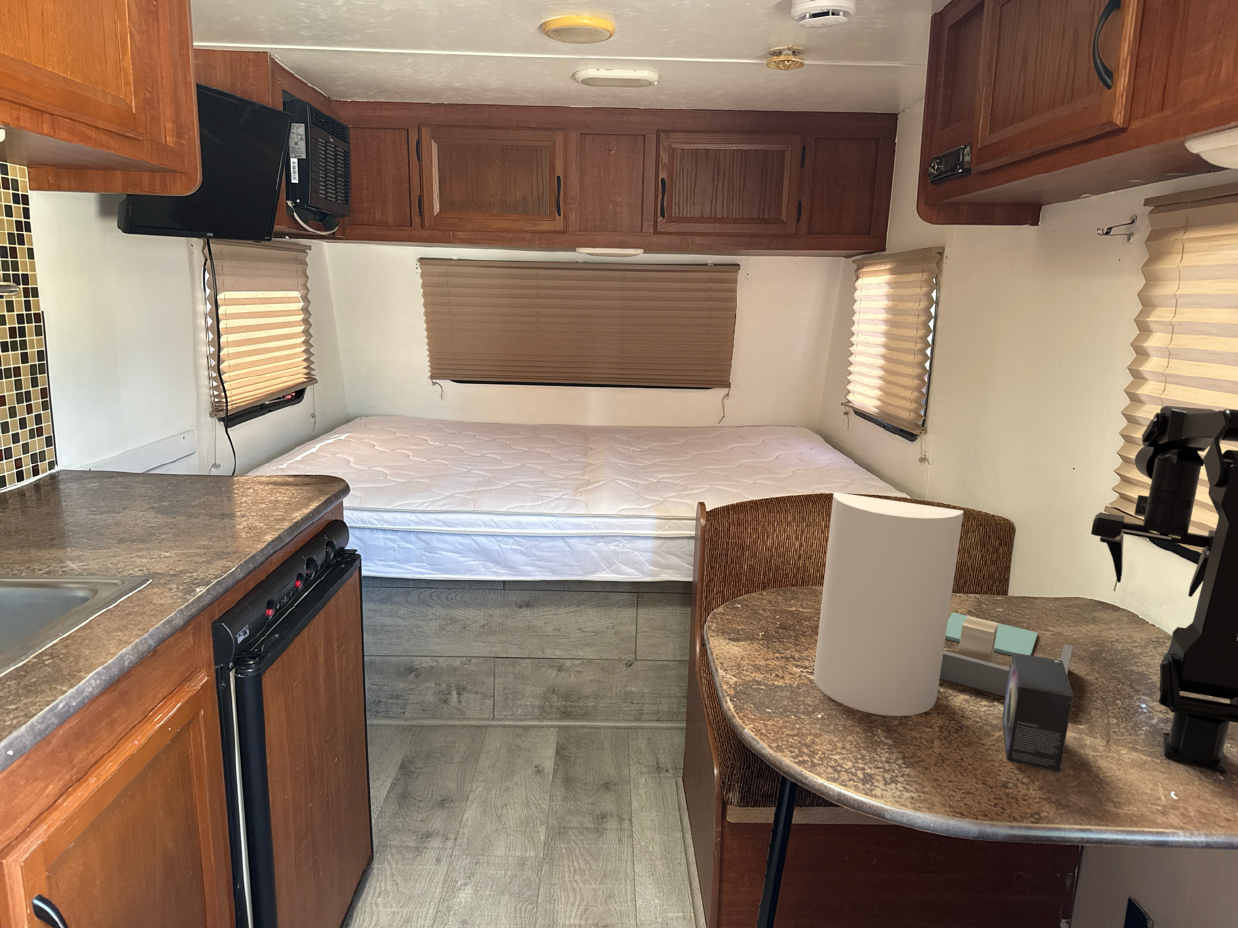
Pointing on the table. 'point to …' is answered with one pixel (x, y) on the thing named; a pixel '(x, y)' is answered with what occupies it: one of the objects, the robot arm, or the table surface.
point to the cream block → (978, 639)
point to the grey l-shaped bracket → (983, 671)
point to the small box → (1036, 711)
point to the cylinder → (886, 603)
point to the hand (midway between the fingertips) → (1153, 588)
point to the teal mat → (997, 636)
